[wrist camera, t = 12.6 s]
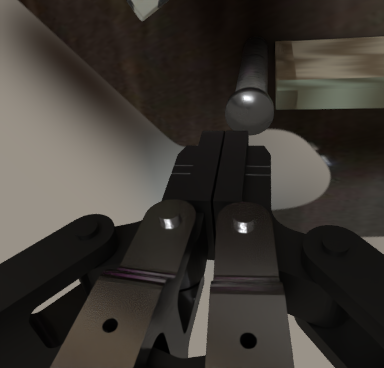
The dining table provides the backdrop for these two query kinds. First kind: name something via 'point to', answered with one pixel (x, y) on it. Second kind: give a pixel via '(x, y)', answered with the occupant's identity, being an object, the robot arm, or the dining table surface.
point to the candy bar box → (145, 7)
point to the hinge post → (251, 91)
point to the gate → (330, 73)
